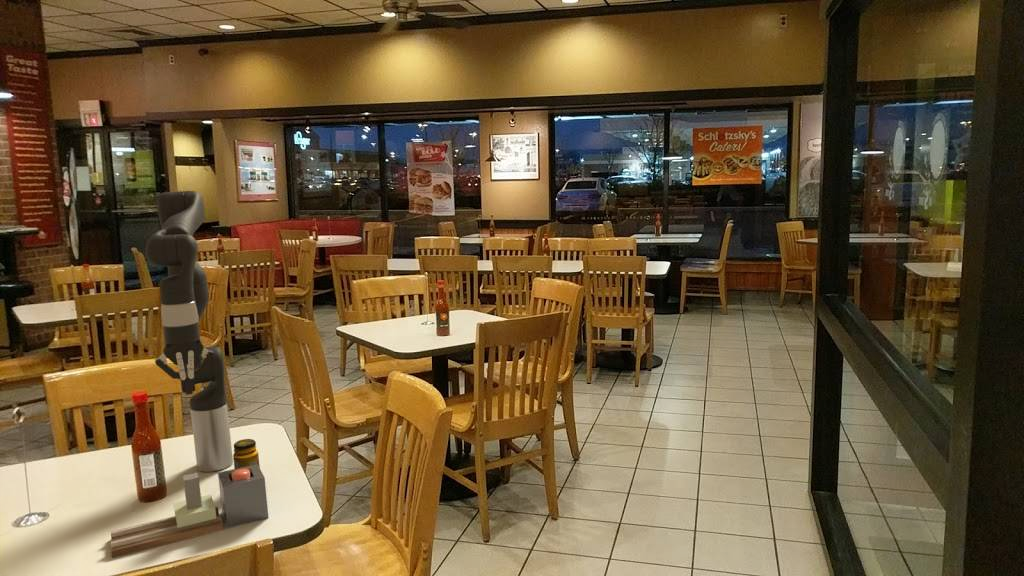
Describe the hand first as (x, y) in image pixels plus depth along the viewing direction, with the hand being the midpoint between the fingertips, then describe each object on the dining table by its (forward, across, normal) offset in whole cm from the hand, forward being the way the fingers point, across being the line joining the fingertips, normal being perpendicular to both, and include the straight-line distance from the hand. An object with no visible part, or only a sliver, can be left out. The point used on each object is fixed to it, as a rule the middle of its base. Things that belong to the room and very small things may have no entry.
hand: (188, 393), depth 166 cm
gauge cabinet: (+29, -8, +9) cm, 31 cm away
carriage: (+26, +2, +9) cm, 28 cm away
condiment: (+29, -11, -7) cm, 32 cm away
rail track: (+29, +8, +9) cm, 31 cm away
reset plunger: (+24, -8, +9) cm, 27 cm away
